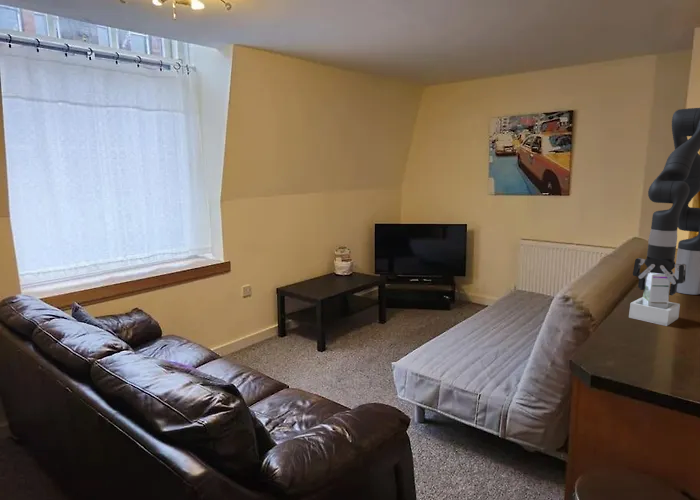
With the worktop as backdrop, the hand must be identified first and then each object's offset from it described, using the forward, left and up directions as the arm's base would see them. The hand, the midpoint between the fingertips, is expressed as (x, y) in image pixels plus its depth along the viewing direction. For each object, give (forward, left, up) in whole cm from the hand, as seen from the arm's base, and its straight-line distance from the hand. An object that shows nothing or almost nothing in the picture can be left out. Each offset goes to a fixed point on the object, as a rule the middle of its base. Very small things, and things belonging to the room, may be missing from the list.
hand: (656, 292), depth 153 cm
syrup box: (0, 0, -8) cm, 8 cm away
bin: (0, 0, -9) cm, 9 cm away
